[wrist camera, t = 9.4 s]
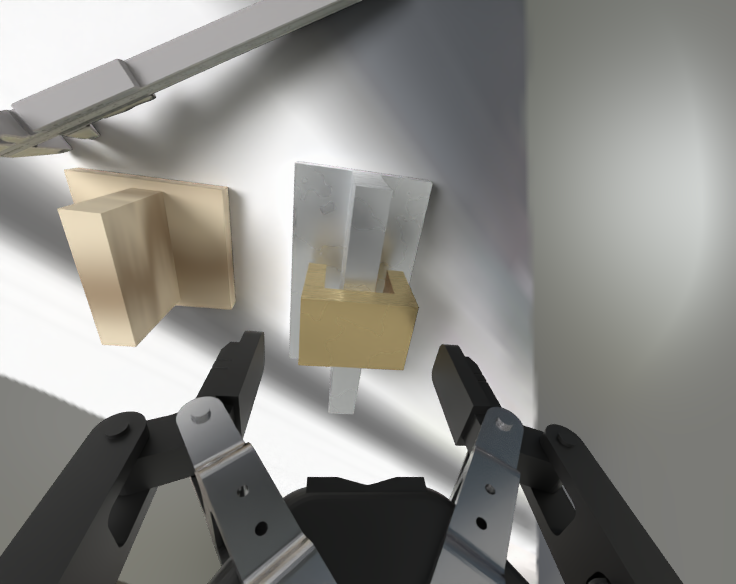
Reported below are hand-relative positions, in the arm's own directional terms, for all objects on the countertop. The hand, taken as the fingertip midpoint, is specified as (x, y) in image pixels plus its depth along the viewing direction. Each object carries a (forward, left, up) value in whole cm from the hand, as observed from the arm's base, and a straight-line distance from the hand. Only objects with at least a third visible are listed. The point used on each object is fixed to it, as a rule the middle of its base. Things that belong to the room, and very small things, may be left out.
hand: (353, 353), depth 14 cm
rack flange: (0, 0, -9) cm, 9 cm away
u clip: (0, 0, -6) cm, 6 cm away
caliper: (-11, -8, -9) cm, 16 cm away
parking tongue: (-1, -12, -9) cm, 15 cm away
